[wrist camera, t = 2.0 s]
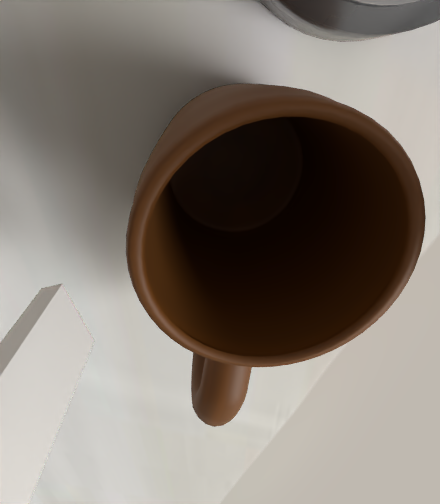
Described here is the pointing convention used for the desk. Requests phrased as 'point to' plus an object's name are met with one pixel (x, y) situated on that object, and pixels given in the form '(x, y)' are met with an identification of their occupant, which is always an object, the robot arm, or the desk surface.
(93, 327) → the desk surface
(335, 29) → the grey metal dish
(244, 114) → the mug
